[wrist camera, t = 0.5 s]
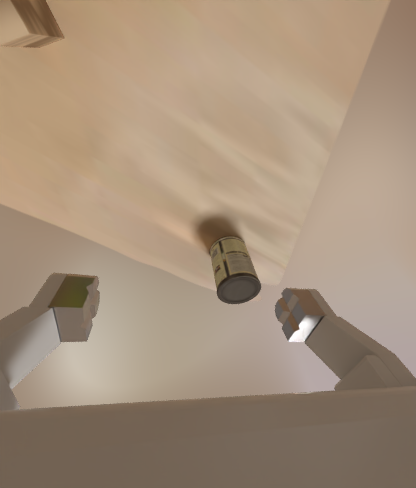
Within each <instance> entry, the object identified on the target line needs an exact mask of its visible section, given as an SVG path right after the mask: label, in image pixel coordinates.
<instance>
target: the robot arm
mask: <svg viewBox="0 0 416 488" xmlns="http://www.w3.org/2000/svg"><path fill="white" fill-rule="evenodd" d="M98 284H99V280H98V277H97V276H89V275H78V274H62V273H53V274H51V275H50V276H49V277H48V279H47V280H46V282H45V283H44V285H43V286H42V288H41V289H40V291H39V292H38V294H37V295H36V297H35V298H34V300H33V301H32V303H31V304H30V305H29V307H22V308H21V309H19V310H17V311H15V312H14V313H12V314H10V315H8V316H7V317H5V318H3V319H1V320H0V488H416V378H415V377H414V376H413V375H412V374H411V372H410V371H409V370H408V369H407V368H406V367H405V365H404V364H403V363H402V362H401V361H400V360H399V358H397V356H396V355H395V354H394V353H392V352H391V351H389V350H388V349H387V348H385V347H384V346H382V345H381V344H379V343H378V342H376V341H375V340H373V339H372V338H370V337H369V336H368V335H366V334H365V333H363V332H362V331H360V330H358V329H357V328H356V327H354V326H353V325H351V324H350V323H348V322H347V321H346V320H344V319H342V318H341V317H337V316H336V314H335V313H334V312H333V310H332V309H331V308H330V306H329V305H328V304H327V302H326V301H325V300H324V298H323V297H322V296H321V295H320V293H319V292H318V291H317V290H315V289H297V288H286V289H284V290H283V292H282V298H281V299H279V300H278V301H277V303H276V305H275V313H276V317H277V319H278V321H280V322H281V323H282V324H283V326H282V330H283V332H284V334H285V336H286V338H287V340H288V342H290V341H291V342H305V344H306V345H307V346H308V347H309V348H310V349H311V350H312V351H313V352H314V353H315V354H316V355H317V356H318V357H319V358H320V359H321V360H322V361H323V362H324V363H325V364H326V365H327V366H328V367H329V368H330V369H331V370H332V371H333V372H334V373H335V374H336V375H337V376H338V377H339V378H340V379H341V380H340V381H339V382H338V383H337V384H336V385H335V388H334V389H335V391H321V392H304V393H286V394H271V395H255V396H254V395H253V396H235V397H219V398H202V399H186V400H169V401H152V402H136V403H118V404H103V405H85V406H68V407H52V408H35V409H19V408H20V405H19V403H18V401H17V399H16V398H15V396H14V394H13V392H12V390H11V389H12V388H13V387H14V386H16V385H17V384H18V383H19V382H20V381H21V380H22V379H23V378H24V377H25V376H26V375H27V374H28V373H30V371H32V370H33V369H34V368H35V367H36V366H37V365H38V364H39V363H40V362H41V361H42V360H44V359H45V358H46V357H47V356H48V355H49V354H50V353H51V352H52V351H53V350H54V349H55V348H56V347H58V346H59V345H60V343H61V342H82V341H87V340H88V337H89V334H90V331H91V328H92V318H93V317H95V316H96V314H97V310H98V306H99V299H100V295H99V294H100V293H99V291H98V290H97V287H98Z"/></svg>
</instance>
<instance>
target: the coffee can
mask: <svg viewBox="0 0 416 488" xmlns="http://www.w3.org/2000/svg"><path fill="white" fill-rule="evenodd" d="M210 256H211V260H212V266H213V271H214V276H215V282H216V287H217V296H218V298H219V299H220V300H221V301H223V302H225V303H228V304H240V303H244V302H247V301H249V300H251V299H253V298H254V297H255V296H257V295H258V293H259V292H260V290H261V283H260V281H259V280H258V277H257V274H256V272H255V269H254V266H253V264H252V261H251V259H250V256H249V253H248V251H247V248H246V245H245V243H244V241H243V240H242V239H240V238H238V237H233V236H228V237H224V238H221V239H219V240H217V241H216V242H215V243H214V244H213V245H212V247H211V249H210Z"/></svg>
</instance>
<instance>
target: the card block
mask: <svg viewBox="0 0 416 488" xmlns="http://www.w3.org/2000/svg"><path fill="white" fill-rule="evenodd" d="M61 39H64V36H63V34H62V32H61V30H60V28H59V26H58V24H57V22H56V20H55V18H54V16H53V14H52V12H51V10H50V8H49V6H48V4H47V3H46V1H45V0H0V46H6V47H34V48H39V47H42V46H45V45H48V44H50V43H53V42H56V41H58V40H61Z"/></svg>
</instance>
